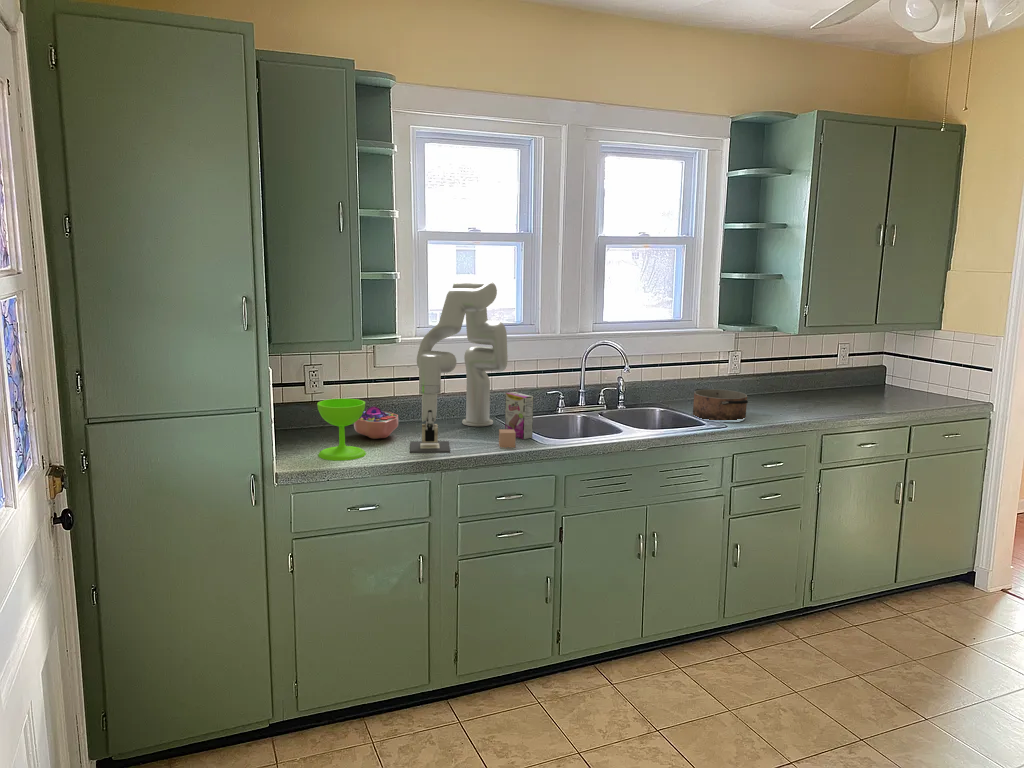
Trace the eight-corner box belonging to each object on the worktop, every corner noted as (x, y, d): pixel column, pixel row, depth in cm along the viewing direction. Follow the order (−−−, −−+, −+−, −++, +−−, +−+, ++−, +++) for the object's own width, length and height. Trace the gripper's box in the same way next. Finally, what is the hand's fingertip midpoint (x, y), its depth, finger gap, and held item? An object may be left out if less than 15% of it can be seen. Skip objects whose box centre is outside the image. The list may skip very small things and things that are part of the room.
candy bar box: (503, 434, 300) (504, 392, 297) (513, 432, 303) (514, 391, 300) (523, 440, 291) (524, 397, 288) (533, 438, 295) (534, 395, 292)
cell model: (355, 445, 279) (354, 414, 277) (350, 432, 298) (349, 403, 296) (402, 442, 284) (401, 412, 282) (394, 430, 302) (394, 401, 300)
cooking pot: (677, 412, 348) (679, 388, 347) (719, 409, 357) (720, 386, 355) (718, 427, 321) (720, 401, 319) (762, 423, 329) (764, 398, 327)
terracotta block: (498, 444, 285) (499, 429, 284) (513, 443, 286) (513, 429, 285) (500, 447, 280) (500, 432, 279) (515, 447, 280) (515, 432, 279)
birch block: (421, 438, 279) (421, 424, 278) (437, 438, 280) (437, 423, 279) (421, 442, 274) (422, 427, 273) (437, 442, 274) (437, 427, 274)
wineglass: (357, 446, 277) (357, 397, 274) (372, 457, 263) (371, 405, 260) (313, 451, 269) (311, 400, 266) (325, 462, 255) (324, 409, 252)
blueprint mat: (410, 442, 283) (410, 441, 283) (448, 442, 285) (448, 440, 285) (409, 452, 270) (409, 450, 270) (450, 452, 271) (450, 450, 271)
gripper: (419, 384, 282) (419, 433, 285) (419, 393, 265) (419, 445, 268) (440, 385, 282) (439, 433, 286) (441, 393, 266) (440, 444, 269)
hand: (429, 438), depth 277 cm, fingers closed on birch block, 5 cm apart
